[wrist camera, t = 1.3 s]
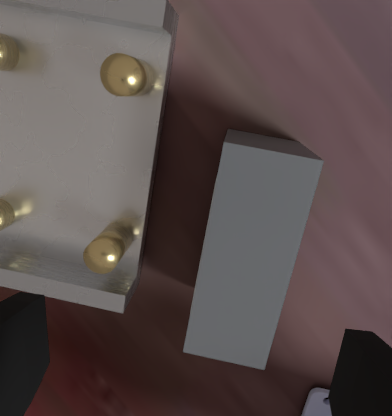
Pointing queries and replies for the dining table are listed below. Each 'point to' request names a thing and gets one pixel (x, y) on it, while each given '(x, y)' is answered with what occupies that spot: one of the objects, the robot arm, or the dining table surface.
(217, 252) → the block
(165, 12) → the pin tray
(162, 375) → the dining table surface
